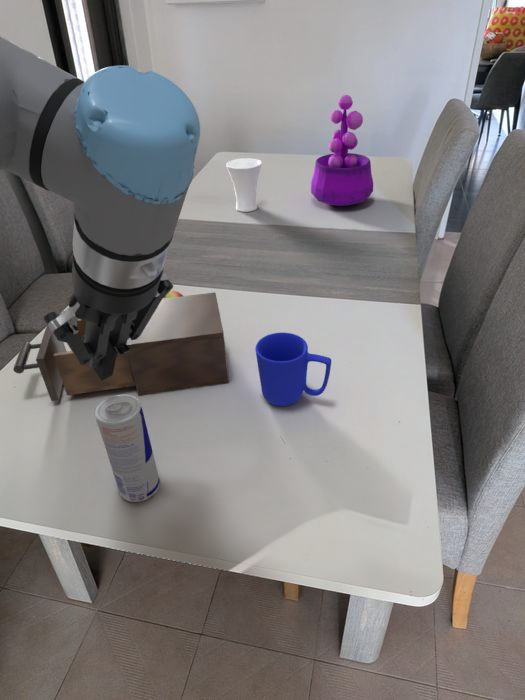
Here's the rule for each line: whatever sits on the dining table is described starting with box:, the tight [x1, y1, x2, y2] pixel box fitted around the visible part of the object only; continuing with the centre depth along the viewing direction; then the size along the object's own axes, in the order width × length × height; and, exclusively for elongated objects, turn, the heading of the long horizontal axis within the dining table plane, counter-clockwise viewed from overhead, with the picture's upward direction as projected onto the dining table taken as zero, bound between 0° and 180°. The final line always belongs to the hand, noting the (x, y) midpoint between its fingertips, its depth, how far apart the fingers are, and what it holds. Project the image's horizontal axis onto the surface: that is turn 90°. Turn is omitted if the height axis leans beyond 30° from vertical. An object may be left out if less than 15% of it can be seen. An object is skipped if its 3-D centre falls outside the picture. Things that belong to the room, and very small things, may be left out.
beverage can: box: [94, 394, 161, 503], centre depth 68 cm, size 6×6×15 cm
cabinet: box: [127, 292, 230, 397], centre depth 91 cm, size 16×14×11 cm
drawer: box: [13, 319, 136, 402], centre depth 89 cm, size 20×12×9 cm, turn 100°
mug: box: [254, 332, 332, 407], centre depth 83 cm, size 8×12×10 cm
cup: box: [225, 157, 262, 213], centre depth 154 cm, size 10×10×14 cm
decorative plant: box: [310, 94, 374, 207], centre depth 150 cm, size 19×18×30 cm
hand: (101, 369), depth 63 cm, fingers closed
